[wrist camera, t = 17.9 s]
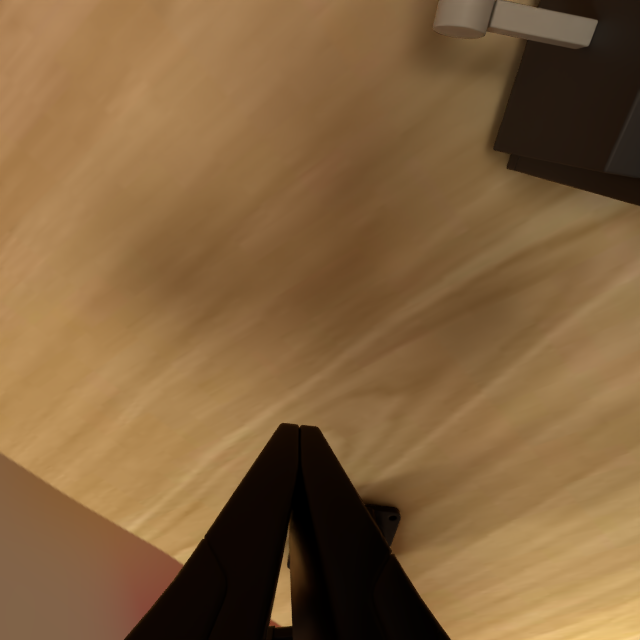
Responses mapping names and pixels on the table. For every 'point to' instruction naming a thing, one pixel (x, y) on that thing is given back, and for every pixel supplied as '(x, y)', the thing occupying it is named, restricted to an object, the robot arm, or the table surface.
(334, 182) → the table surface
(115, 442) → the table surface
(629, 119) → the drawer
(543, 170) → the cabinet
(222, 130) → the table surface
